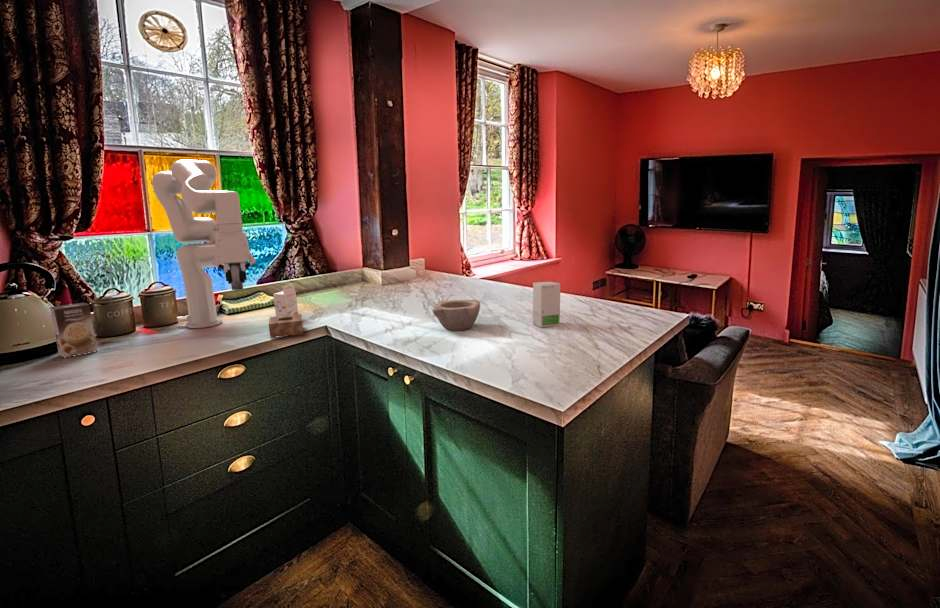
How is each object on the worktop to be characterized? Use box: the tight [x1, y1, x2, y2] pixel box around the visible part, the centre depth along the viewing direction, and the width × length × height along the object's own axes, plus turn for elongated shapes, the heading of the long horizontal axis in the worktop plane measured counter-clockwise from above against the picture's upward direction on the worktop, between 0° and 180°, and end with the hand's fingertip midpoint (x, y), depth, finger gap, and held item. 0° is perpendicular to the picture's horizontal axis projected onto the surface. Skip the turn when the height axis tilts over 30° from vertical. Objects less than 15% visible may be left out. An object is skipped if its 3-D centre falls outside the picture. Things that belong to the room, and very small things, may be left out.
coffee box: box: [49, 302, 99, 359], centre depth 159 cm, size 9×6×16 cm
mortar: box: [432, 299, 481, 331], centre depth 180 cm, size 17×17×9 cm
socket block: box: [268, 313, 304, 338], centre depth 180 cm, size 11×11×5 cm
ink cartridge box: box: [272, 282, 299, 317], centre depth 196 cm, size 9×5×15 cm, turn 168°
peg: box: [229, 263, 244, 291], centre depth 169 cm, size 4×4×10 cm
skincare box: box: [532, 281, 561, 329], centre depth 180 cm, size 8×7×16 cm
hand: (236, 282), depth 169 cm, fingers closed on peg, 3 cm apart
